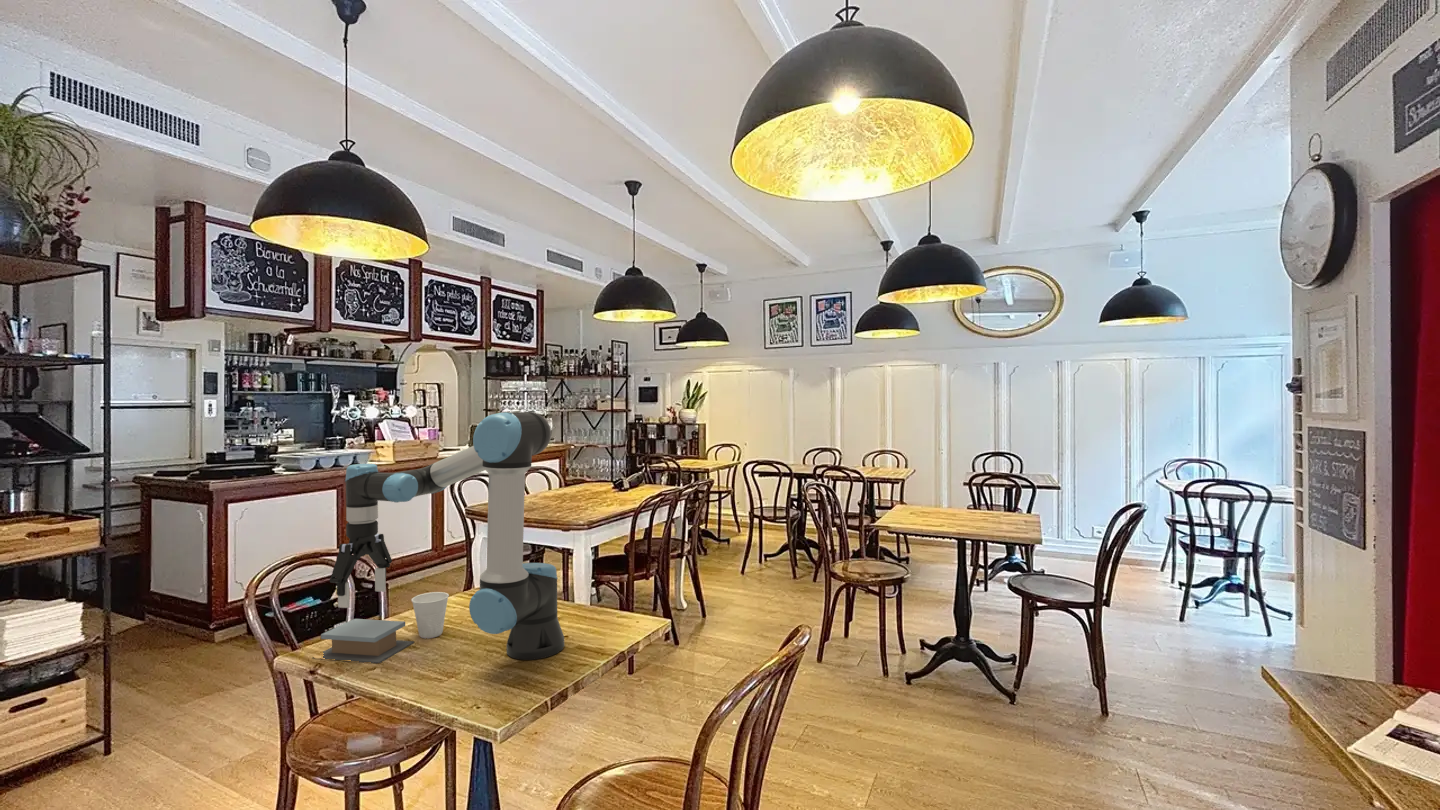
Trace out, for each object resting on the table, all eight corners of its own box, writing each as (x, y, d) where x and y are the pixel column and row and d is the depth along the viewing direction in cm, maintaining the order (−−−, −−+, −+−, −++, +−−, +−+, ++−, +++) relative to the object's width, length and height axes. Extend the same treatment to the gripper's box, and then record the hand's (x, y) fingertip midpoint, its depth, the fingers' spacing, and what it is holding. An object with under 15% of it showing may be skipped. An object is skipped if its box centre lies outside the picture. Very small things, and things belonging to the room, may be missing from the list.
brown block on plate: (414, 642, 177) (414, 624, 177) (379, 663, 163) (378, 644, 163) (351, 638, 181) (351, 621, 181) (311, 658, 167) (311, 639, 167)
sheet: (405, 625, 177) (405, 621, 177) (374, 642, 165) (374, 637, 165) (354, 622, 179) (354, 618, 179) (321, 638, 168) (320, 634, 167)
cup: (440, 641, 178) (439, 602, 178) (405, 641, 178) (404, 602, 178) (455, 628, 188) (454, 591, 188) (422, 628, 188) (421, 591, 188)
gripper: (382, 512, 185) (382, 584, 185) (313, 530, 160) (313, 613, 160) (405, 513, 183) (405, 585, 184) (339, 531, 159) (339, 615, 159)
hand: (362, 599), depth 172 cm, fingers open, 13 cm apart
